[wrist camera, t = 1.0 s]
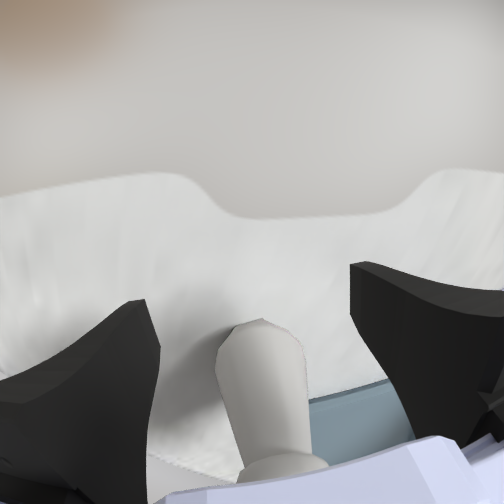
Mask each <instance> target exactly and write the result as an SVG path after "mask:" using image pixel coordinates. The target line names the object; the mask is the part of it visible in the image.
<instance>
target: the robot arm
mask: <svg viewBox="0 0 504 504" xmlns="http://www.w3.org/2000/svg"><path fill="white" fill-rule="evenodd" d="M350 315H351V317H352V319H353V322H354V324H355V326H356V328H357V330H358V332H359V334H360V336H361V337H362V339H363V340H364V342H365V343H366V345H367V347H368V348H369V350H370V351H371V352H372V354H373V355H374V357H375V358H376V360H377V361H378V363H379V364H380V366H381V367H382V369H383V370H384V372H385V373H386V375H387V376H388V378H389V380H390V381H391V383H392V385H393V387H394V389H395V391H396V393H397V395H398V397H399V399H400V401H401V404H402V406H403V408H404V410H405V413H406V415H407V417H408V420H409V422H410V425H411V427H412V430H413V433H414V435H415V438H416V440H414V441H410V442H406V443H402V444H399V445H396V446H393V447H391V448H388V449H385V450H382V451H379V452H377V453H374V454H371V455H368V456H364V457H361V458H358V459H355V460H351V461H348V462H344V463H341V464H337V465H334V466H330V467H326V468H322V469H318V470H313V471H309V472H305V473H300V474H295V475H290V476H285V477H279V478H274V479H267V480H261V481H254V482H247V483H238V484H229V485H218V486H208V487H202V488H197V489H191V490H184V491H178V492H173V493H171V494H169V495H167V496H165V497H164V498H162V499H160V500H159V501H157V502H156V503H154V504H504V289H503V290H501V291H499V290H482V289H472V288H464V287H458V286H453V285H448V284H443V283H439V282H435V281H431V280H427V279H424V278H420V277H417V276H414V275H410V274H407V273H404V272H401V271H398V270H395V269H392V268H389V267H386V266H383V265H380V264H376V263H372V262H367V261H364V262H359V263H354V264H350ZM160 348H161V346H160V344H159V341H158V338H157V335H156V332H155V329H154V326H153V323H152V320H151V317H150V314H149V311H148V308H147V305H146V302H145V299H142V300H135V301H129V302H127V303H125V304H123V305H122V306H121V307H119V308H118V309H117V310H115V311H114V312H113V313H112V314H110V315H109V316H108V317H107V318H105V319H104V320H103V321H102V322H100V323H99V324H98V325H97V326H96V327H94V328H93V329H92V330H90V331H89V332H88V333H86V334H85V335H84V336H82V337H81V338H80V339H79V340H77V341H76V342H75V343H73V344H72V345H70V346H69V347H67V348H66V349H64V350H63V351H61V352H59V353H58V354H56V355H55V356H53V357H51V358H50V359H48V360H46V361H44V362H42V363H40V364H38V365H36V366H34V367H32V368H30V369H28V370H26V371H24V372H21V373H19V374H17V375H14V376H12V377H9V378H6V379H3V380H1V381H0V504H148V502H147V486H146V445H147V429H148V422H149V416H150V411H151V406H152V401H153V397H154V392H155V387H156V382H157V378H158V373H159V365H160Z"/></svg>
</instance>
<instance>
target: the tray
mask: <svg viewBox="0 0 504 504" xmlns="http://www.w3.org/2000/svg"><path fill="white" fill-rule="evenodd" d="M308 402H309V420H310V433H311V445H312V454H313V455H315V456H318V457H320V458H322V459H324V460H325V461H326V462H327V464H328V465H329V467H330V466H334V465H337V464H341V463H344V462H348V461H351V460H355V459H358V458H361V457H364V456H368V455H371V454H374V453H377V452H379V451H382V450H385V449H388V448H391V447H393V446H396V445H399V444H402V443H406V442H410V441H414V440H416V438H415V435H414V433H413V430H412V427H411V425H410V422H409V420H408V417H407V415H406V413H405V410H404V408H403V406H402V404H401V401H400V399H399V397H398V395H397V393H396V391H395V389H394V387H393V385H392V383H391V381H390V380H389V378H388V379H385V380H382V381H379V382H375V383H372V384H369V385H365V386H362V387H358V388H355V389H351V390H347V391H344V392H340V393H336V394H332V395H328V396H324V397H319V398H315V399H311V400H308Z"/></svg>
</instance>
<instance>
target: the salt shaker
mask: <svg viewBox="0 0 504 504" xmlns="http://www.w3.org/2000/svg"><path fill="white" fill-rule="evenodd" d="M214 371H215V374H216V378H217V381H218V384H219V388H220V391H221V395H222V398H223V401H224V405H225V408H226V411H227V414H228V418H229V421H230V424H231V427H232V430H233V434H234V437H235V440H236V443H237V446H238V449H239V452H240V455H241V458H242V461H243V464H244V467H245V468H244V469H243V470H242V471H240V473H239V476H238V479H237V482H236V484H238V483H247V482H254V481H261V480H267V479H274V478H279V477H285V476H290V475H295V474H300V473H305V472H309V471H313V470H318V469H322V468H326V467H329V465H328V464H327V462H326V461H325V460H324V459H322V458H320V457H318V456H315V455H313V454H312V445H311V433H310V420H309V402H308V385H307V370H306V359H305V355H304V351H303V347H302V344H301V343H300V342H299V340H298V339H296V338H295V337H294V336H293V335H292V334H291V333H290V332H289V331H288V330H286V329H284V328H281V327H279V326H276V325H274V324H272V323H270V322H268V321H266V320H264V319H262V318H261V319H258V320H255V321H251V322H248V323H244V324H241V325H238V326H236V327H235V328H234V329H233V331H232V332H231V334H230V335H229V336H228V338H227V339H226V340H225V341H224V343H223V344H222V345H221V347H220V348H219V349H218V352H217V357H216V364H215V370H214Z"/></svg>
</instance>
